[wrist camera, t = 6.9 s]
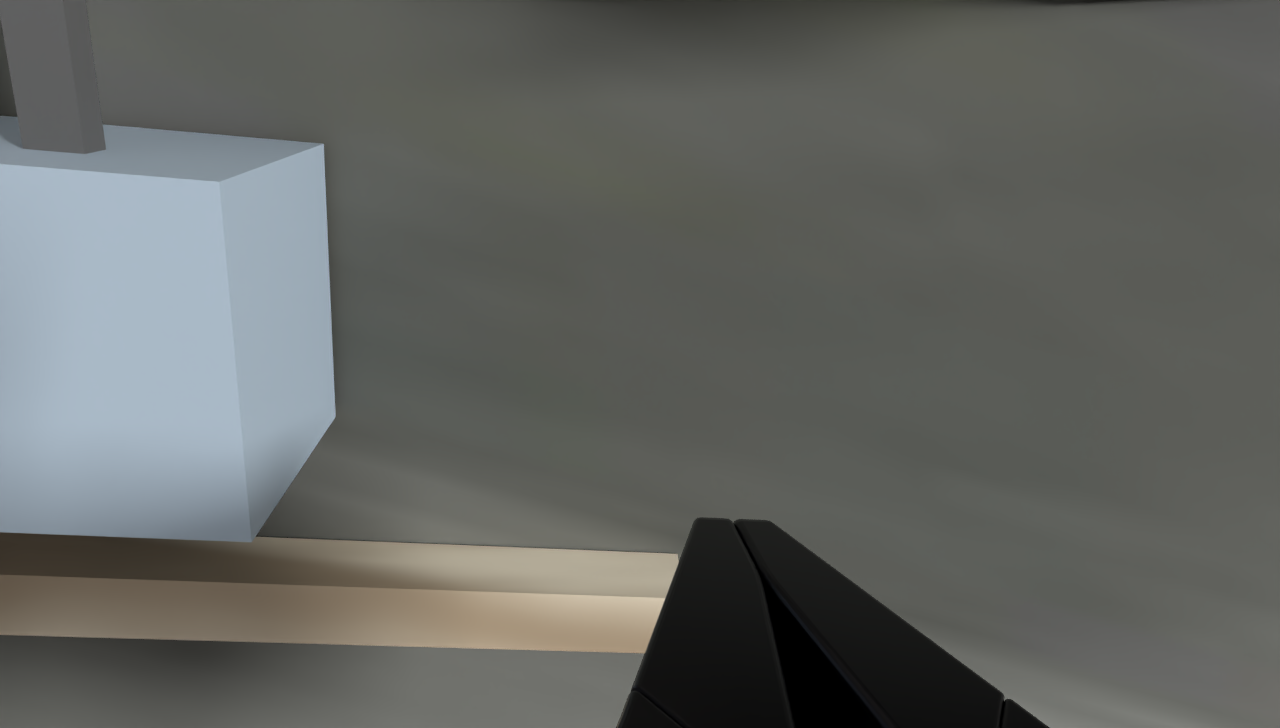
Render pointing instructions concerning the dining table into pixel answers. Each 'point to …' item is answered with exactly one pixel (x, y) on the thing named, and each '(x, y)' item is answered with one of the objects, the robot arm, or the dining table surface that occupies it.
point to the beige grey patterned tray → (331, 592)
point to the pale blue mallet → (150, 308)
